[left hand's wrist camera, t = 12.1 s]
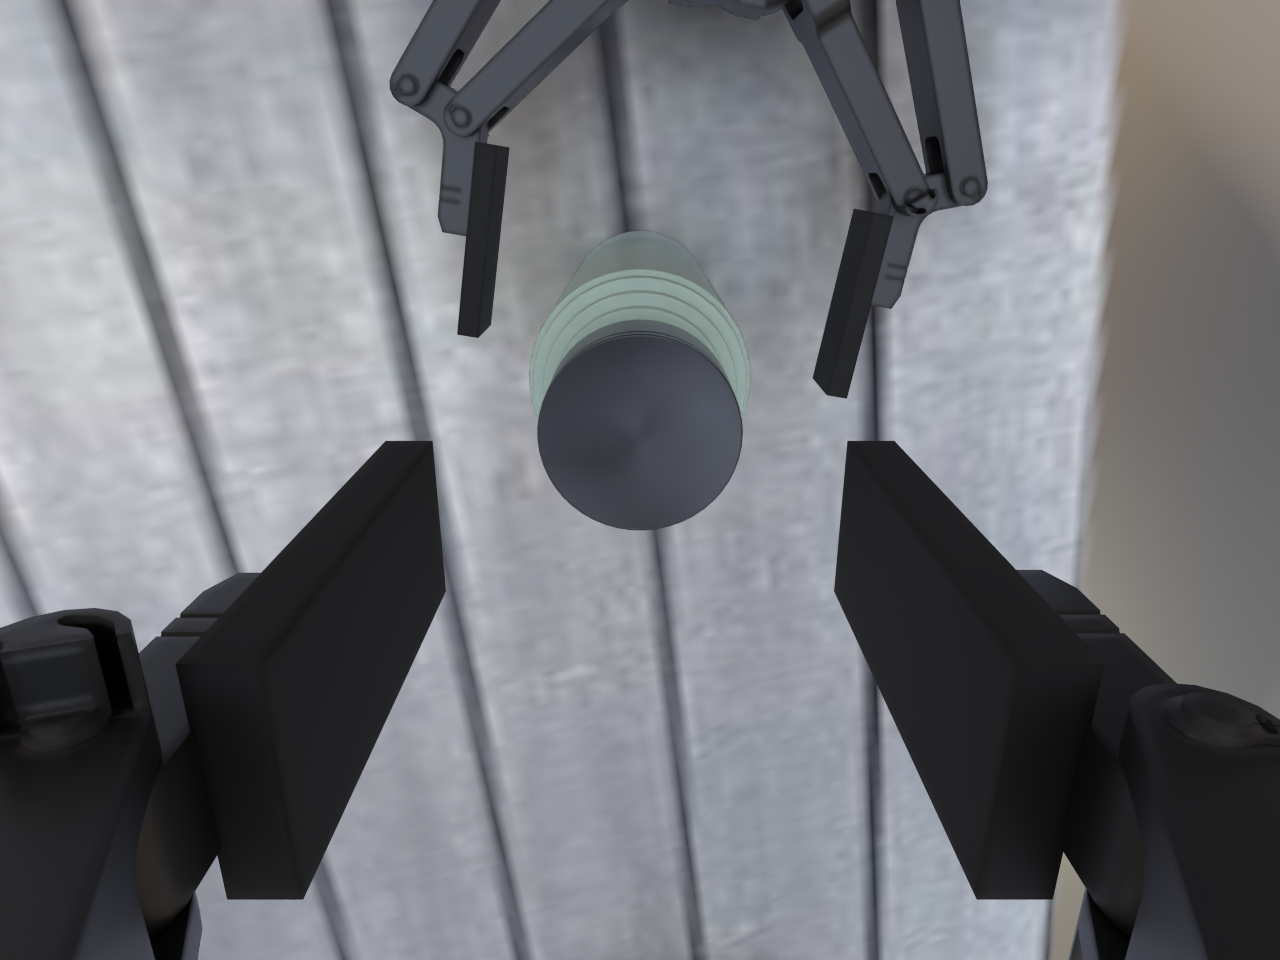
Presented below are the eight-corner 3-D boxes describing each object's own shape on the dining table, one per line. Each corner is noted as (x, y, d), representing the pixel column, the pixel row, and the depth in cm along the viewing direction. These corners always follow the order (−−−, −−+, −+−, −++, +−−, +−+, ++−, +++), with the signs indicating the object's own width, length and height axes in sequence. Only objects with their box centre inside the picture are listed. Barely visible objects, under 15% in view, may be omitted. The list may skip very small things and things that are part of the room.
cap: (733, 315, 19) (743, 330, 17) (733, 496, 21) (742, 527, 19) (539, 322, 19) (528, 338, 18) (553, 502, 21) (545, 534, 19)
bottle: (708, 227, 36) (779, 287, 18) (709, 367, 38) (774, 551, 20) (567, 233, 36) (490, 298, 18) (576, 371, 38) (515, 559, 20)
